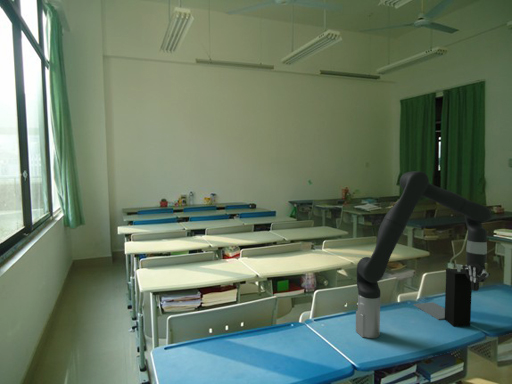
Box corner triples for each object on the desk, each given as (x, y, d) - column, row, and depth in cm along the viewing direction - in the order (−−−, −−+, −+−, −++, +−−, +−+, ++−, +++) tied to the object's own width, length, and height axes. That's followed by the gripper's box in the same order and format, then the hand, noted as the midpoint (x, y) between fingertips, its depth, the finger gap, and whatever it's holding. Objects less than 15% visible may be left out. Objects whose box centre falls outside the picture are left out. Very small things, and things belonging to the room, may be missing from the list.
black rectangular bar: (470, 326, 157) (472, 266, 155) (453, 326, 157) (455, 266, 156) (460, 319, 165) (462, 261, 163) (444, 319, 165) (446, 261, 163)
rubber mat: (438, 319, 164) (438, 318, 164) (413, 305, 183) (413, 304, 182) (460, 317, 167) (460, 316, 167) (433, 303, 185) (433, 302, 185)
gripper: (457, 248, 155) (455, 285, 157) (481, 255, 143) (480, 296, 144) (471, 247, 157) (470, 284, 158) (497, 254, 144) (495, 294, 145)
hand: (474, 290), depth 151 cm, fingers closed
